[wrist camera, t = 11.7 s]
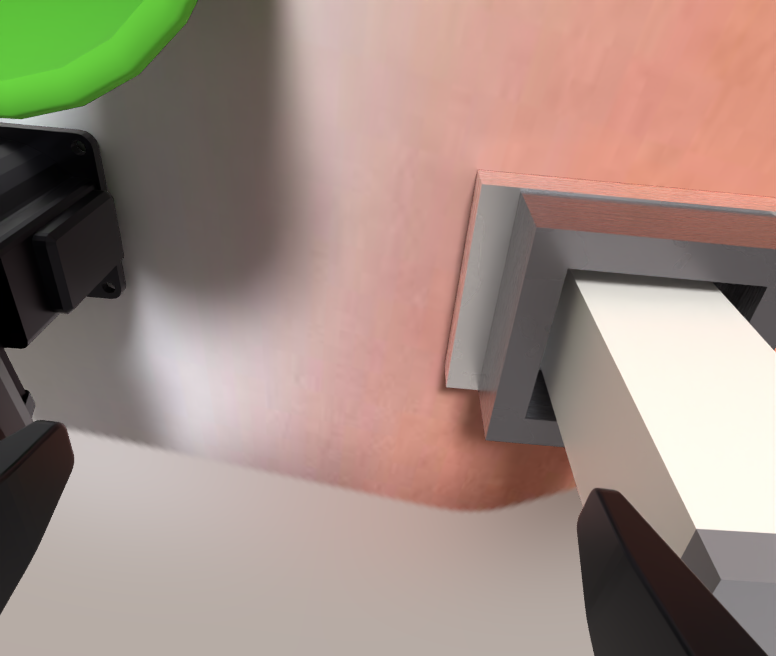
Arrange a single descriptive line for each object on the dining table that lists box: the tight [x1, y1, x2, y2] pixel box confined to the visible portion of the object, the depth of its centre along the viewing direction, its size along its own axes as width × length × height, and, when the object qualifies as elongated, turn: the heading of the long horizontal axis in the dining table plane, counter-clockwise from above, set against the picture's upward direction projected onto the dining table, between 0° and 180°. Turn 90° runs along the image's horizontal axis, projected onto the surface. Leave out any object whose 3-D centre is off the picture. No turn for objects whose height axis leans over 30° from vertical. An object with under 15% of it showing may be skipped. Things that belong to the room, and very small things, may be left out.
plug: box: [540, 268, 776, 656], centre depth 16 cm, size 4×4×12 cm
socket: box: [445, 170, 776, 447], centre depth 20 cm, size 11×9×4 cm
